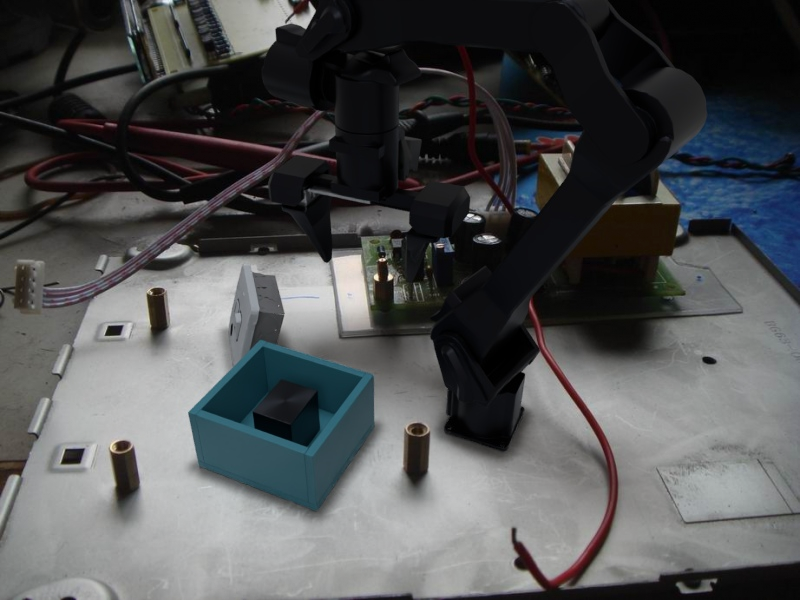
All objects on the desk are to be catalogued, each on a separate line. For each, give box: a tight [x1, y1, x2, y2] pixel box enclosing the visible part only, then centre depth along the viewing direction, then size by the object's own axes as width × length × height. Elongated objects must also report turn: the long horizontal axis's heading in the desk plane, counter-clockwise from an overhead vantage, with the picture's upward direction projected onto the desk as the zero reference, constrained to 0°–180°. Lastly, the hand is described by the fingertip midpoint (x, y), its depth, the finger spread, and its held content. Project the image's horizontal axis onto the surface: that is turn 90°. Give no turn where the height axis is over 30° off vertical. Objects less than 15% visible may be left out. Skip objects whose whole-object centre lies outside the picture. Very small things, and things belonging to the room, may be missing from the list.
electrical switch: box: [227, 264, 285, 368], centre depth 81 cm, size 9×5×9 cm, turn 15°
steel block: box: [253, 379, 320, 447], centre depth 70 cm, size 4×5×5 cm
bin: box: [187, 340, 375, 512], centre depth 70 cm, size 13×12×7 cm
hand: (368, 270), depth 76 cm, fingers open, 9 cm apart
